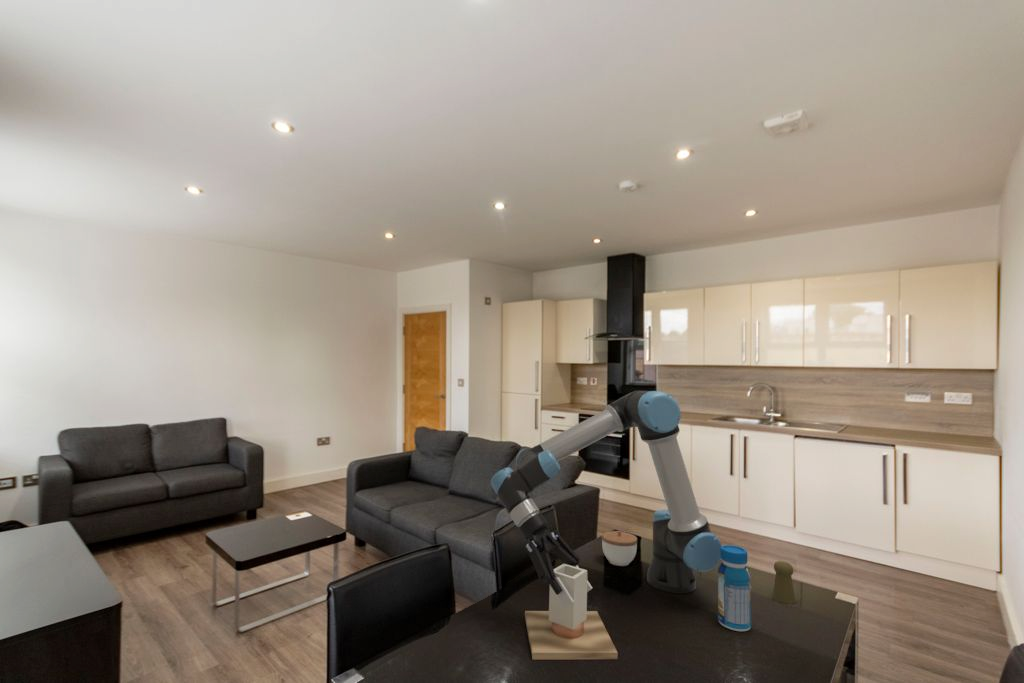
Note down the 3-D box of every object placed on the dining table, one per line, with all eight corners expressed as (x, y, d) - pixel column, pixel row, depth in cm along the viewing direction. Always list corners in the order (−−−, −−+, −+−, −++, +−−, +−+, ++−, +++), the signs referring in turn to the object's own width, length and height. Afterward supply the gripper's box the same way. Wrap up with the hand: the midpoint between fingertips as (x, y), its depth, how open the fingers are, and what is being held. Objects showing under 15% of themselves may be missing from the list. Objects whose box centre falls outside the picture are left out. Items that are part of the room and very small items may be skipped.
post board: (524, 616, 129) (526, 567, 130) (596, 616, 130) (597, 568, 131) (532, 659, 109) (534, 601, 110) (617, 659, 110) (618, 601, 111)
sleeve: (548, 620, 119) (550, 571, 120) (562, 610, 125) (563, 563, 126) (573, 629, 115) (574, 578, 116) (586, 619, 121) (587, 570, 122)
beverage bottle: (737, 635, 123) (737, 556, 124) (710, 620, 130) (710, 545, 132) (758, 628, 127) (757, 551, 128) (731, 614, 134) (730, 542, 136)
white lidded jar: (638, 559, 175) (638, 528, 176) (635, 571, 163) (635, 538, 164) (604, 554, 179) (604, 524, 180) (599, 565, 167) (599, 533, 168)
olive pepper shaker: (798, 605, 141) (798, 567, 142) (776, 602, 142) (776, 565, 143) (791, 596, 147) (790, 560, 148) (770, 594, 148) (769, 558, 149)
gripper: (542, 519, 140) (589, 591, 129) (496, 537, 122) (547, 622, 111) (558, 504, 137) (608, 576, 126) (513, 520, 119) (567, 605, 109)
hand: (579, 597), depth 119 cm, fingers open, 9 cm apart
